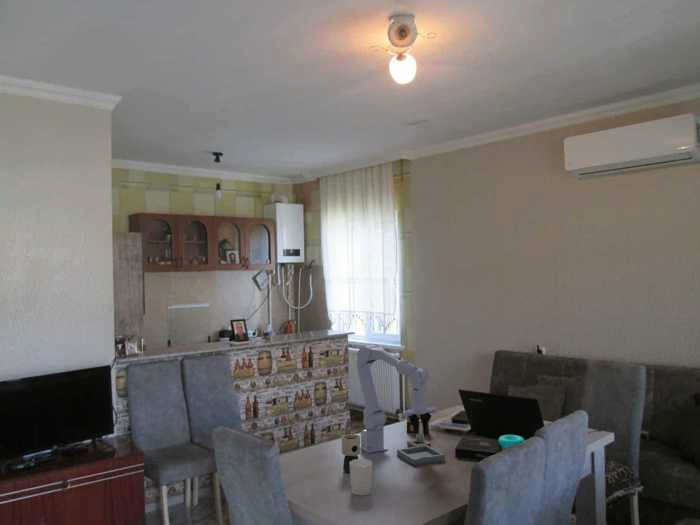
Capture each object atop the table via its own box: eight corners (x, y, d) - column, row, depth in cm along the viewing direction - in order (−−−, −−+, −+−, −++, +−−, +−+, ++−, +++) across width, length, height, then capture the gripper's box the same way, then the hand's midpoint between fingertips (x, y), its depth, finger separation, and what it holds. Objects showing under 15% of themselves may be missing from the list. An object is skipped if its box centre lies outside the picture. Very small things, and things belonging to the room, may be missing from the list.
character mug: (350, 477, 204) (350, 441, 205) (335, 473, 208) (334, 438, 209) (367, 468, 213) (366, 434, 213) (351, 465, 217) (351, 432, 218)
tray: (414, 466, 215) (414, 459, 215) (397, 455, 228) (396, 449, 228) (444, 460, 220) (444, 454, 220) (426, 450, 233) (426, 445, 233)
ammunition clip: (406, 432, 261) (405, 407, 261) (407, 431, 262) (407, 406, 263) (428, 435, 256) (427, 409, 256) (429, 434, 258) (428, 408, 258)
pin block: (415, 450, 234) (415, 445, 234) (407, 445, 241) (407, 441, 241) (431, 448, 237) (431, 443, 237) (422, 443, 244) (422, 438, 244)
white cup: (359, 485, 196) (359, 457, 196) (377, 491, 191) (376, 461, 191) (345, 492, 190) (344, 463, 190) (363, 498, 185) (362, 468, 185)
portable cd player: (501, 450, 234) (501, 440, 234) (497, 462, 218) (496, 452, 218) (462, 446, 240) (462, 437, 240) (455, 458, 224) (455, 448, 224)
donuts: (521, 433, 221) (528, 441, 211) (522, 459, 221) (528, 467, 211) (496, 433, 222) (501, 441, 212) (496, 459, 222) (502, 467, 212)
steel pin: (418, 441, 222) (417, 421, 223) (415, 439, 225) (414, 420, 225) (424, 441, 223) (424, 421, 223) (421, 439, 226) (421, 419, 226)
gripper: (408, 402, 218) (409, 437, 218) (439, 398, 224) (440, 432, 223) (399, 399, 224) (400, 433, 224) (430, 395, 230) (431, 428, 230)
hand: (420, 432), depth 224 cm, fingers closed on steel pin, 3 cm apart
